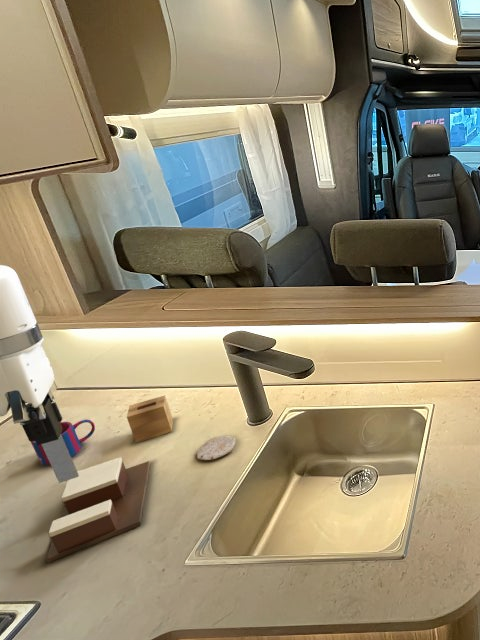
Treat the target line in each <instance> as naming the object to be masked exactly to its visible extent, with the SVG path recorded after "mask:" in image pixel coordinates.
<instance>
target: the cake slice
mask: <svg viewBox="0 0 480 640" xmlns="http://www.w3.org/2000/svg"><path fill="white" fill-rule="evenodd" d="M117 522H118V515H117V513H116V511H115V508H114V506H113V504H112V501H111V500H108V501H105V502H102V503H100V504H97V505H94V506H91V507H89V508H86V509H83V510H81V511H78V512H75V513H73V514H70V515H67V516H65V517H62V518H61V517H59V518H57V519H54V520H52V522H51V525H50V528H49V531H48V536H49V538H50V540H51V541H52V542H53V543H54V545H55V547H56V549H57V551H58V552H61V551H63V550H66V549H68V548H71V547H73V546H76V545H78V544H80V543H83V542H85V541H88V540H90V539H93V538H95V537H98V536H100V535H103V534H105V533H108V532H110V531H113V530H115V529H116V526H117ZM52 542H51V543H52Z"/></svg>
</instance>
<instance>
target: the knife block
mask: <svg viewBox="0 0 480 640" xmlns="http://www.w3.org/2000/svg"><path fill="white" fill-rule="evenodd" d="M171 412H172V411H171V409H170V406H169V402H168V400H167V396H166V395H162V396H159V397H155V398H151V399H146V400H144V401H140V402H137V403H133V404H130V405H129V406H128V409H127V414H126V419H127V422H128V425H129V427H130V430H131V433H132V435H133V438H134V441H135V443H136V444H138V443H140V442H144V441H147V440H150V439H153V438H156V437H159V436H162V435H165V434H168V433H171V432H173V424H174V419H173V415H172V413H171Z"/></svg>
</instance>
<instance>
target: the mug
mask: <svg viewBox="0 0 480 640" xmlns="http://www.w3.org/2000/svg"><path fill="white" fill-rule="evenodd" d="M84 423H89V424H90V426H91V429H90V431H89V432H88V433H87V434H86V435H85V436H83V437H82V438H80V439H79V437H78V435H77V432H76V429H77V428H78V427H79V426H80V425H82V424H84ZM60 424H61V426H62V429H63V430H62V432H61V435H62V438H63V440H64V442H65V444H66V447H67V449H68V451H69V454H70V456H71V458H73V457H74V456H76V455H77V454H78V453H79V452H80V451H81V449H82V443H84V442H86V441H87V440H88V439H89V438H91V436H92V435H93V434H94V432H95V429H96V426H95V423H94V421H93V420H91V419H82V420H80V421H78V422H76V423H74V424H73V423H72V422H70V421H61V422H60ZM29 442H30V444H31V446H32V448H33V450H34V452H35V454H36V456H37V458H38V460H39V462H40V464H41V465H42V466H46V467H48V466H51V464H50V462H49V460H48V458H47V455H46V453H45V451H44V449H43V447H42V445H37V444H36V441H33V442H31V441H29Z"/></svg>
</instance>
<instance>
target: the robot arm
mask: <svg viewBox="0 0 480 640" xmlns="http://www.w3.org/2000/svg"><path fill="white" fill-rule="evenodd" d="M44 341H45V339H44V336H43V334H42V331H41V328H40V327H39V324H38V322H37V319H36V317H35V314H34V311H33V309H32V307H31V305H30V302H29V299H28V297H27V294H26V292H25V290H24V287H23V284H22V282H21V280H20V278H19V276H18V273H17V272H16V271H15V269H14V268H12V267H10V266H8V265H4V264H0V418H1V417H5V416H7V414H8V413H9V411H10V410H11V417H12V422H13V424H14V425H17V424H19V425H20V426H21V427H22V429H23V431H24V433H25V435H26V437H27V440H28V441H29V442H30V441H31V442H33V441H36V440H40V439H43V438H47V437H50V436H54V435H55V434H56V432H57V431H56V429H55V426H54V424H53V422H52V420H51V417H50V415H46V413H45V411H44V408H43V405H42V402H43V400H44V399H47V398H50V401H51V403H52V405H53V408H54V410H55V412H56V415H57V417H58V419H59V422H63V416H62V414H61V412H60V409H59V407H58V405H57V403H56V401H55V396H54V394H53V392H52V390H51V388H52V386H53V384H54V381H55V374H54V371H53V367H52V365H51V363H50V360H49V358H48V356H47V354H46V352H45V349H44V348H43V346H42V344H43V342H44ZM28 403H29V404H28ZM33 408H35V409H36V412H34V411H32V412H27V410H29V409H33ZM31 442H30V443H31Z"/></svg>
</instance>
